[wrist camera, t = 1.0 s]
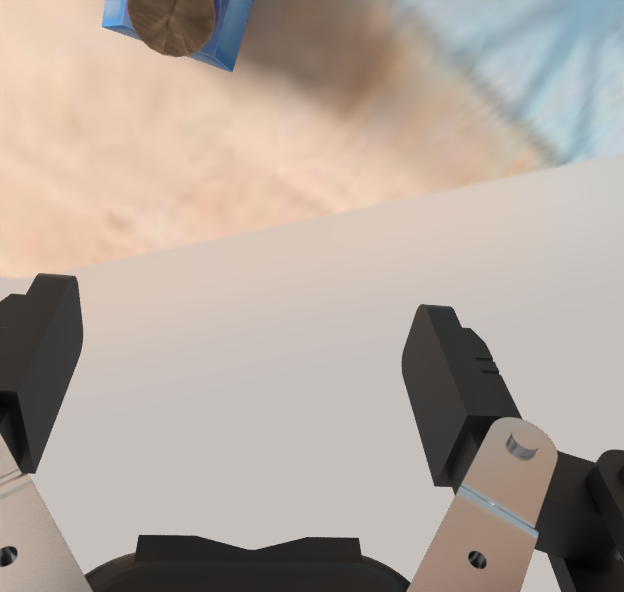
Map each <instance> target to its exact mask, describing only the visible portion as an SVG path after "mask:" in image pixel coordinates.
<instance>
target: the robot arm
mask: <svg viewBox="0 0 624 592" xmlns="http://www.w3.org/2000/svg"><path fill="white" fill-rule="evenodd" d="M82 343H83V324H82V315H81V306H80V297H79V288H78V282H77V278H76V277H75V276H69V275H56V274H44V273H39V274H38V275H37V276H36V278H35V279H34V281H33V283H32V285H31V287H30V288H29V290H28V292H27V293H26V295H22V294H10V295H9V296H8V297H6V298H5V299H3V300H2V301H1V302H0V592H520V590H521V587H522V584H523V581H524V578H525V575H526V572H527V569H528V566H529V563H530V560H531V557H532V554H533V551H534V549H536V550H539V551H542V552H545V553H547V554H548V557H549V560H550V562H551V565H552V568H553V571H554V573H555V576H556V579H557V582H558V584H559V587H560V590H561V592H624V562H623V561H624V451H623V450H609V451H606V452H604V453H603V454H602V455H601V456H600V457H599V459H598V460H597V462H596V463H594V462H591V461H588V460H585V459H581V458H578V457H575V456H572V455H569V454H565V453H562V452H560V451H557V450H556V447H555V445H554V443H553V442H552V440H551V439H550V438H549V437H548V435H547V434H546V433H545V432H544V431H542V430H541V429H540V428H538V427H537V426H535V425H534V424H532V423H530V422H528V421H525V420H523V419H522V417H521V416H520V414H519V411H518V409H517V407H516V405H515V403H514V401H513V399H512V397H511V395H510V393H509V391H508V389H507V387H506V384H505V382H504V380H503V378H502V376H501V375H499V370H498V368H497V366H496V364H495V362H493V358H492V356H491V354H490V352H489V349H488V347H487V345H486V343H485V342H484V341H483V340H482V339H481V338H480V337H479V336H478V335H477V334H476V333H475V332H474V331H473V330H472V329H471V328H462V327H461V324H460V322H459V320H458V318H457V316H456V313H455V311H454V309H453V308H452V307H449V306H437V305H424V304H422V305H420V306H419V307H418V309H417V311H416V314H415V317H414V320H413V323H412V326H411V329H410V332H409V335H408V338H407V341H406V344H405V347H404V351H403V355H402V374H403V378H404V382H405V385H406V389H407V392H408V395H409V399H410V403H411V406H412V410H413V413H414V416H415V420H416V423H417V427H418V430H419V434H420V437H421V441H422V444H423V448H424V451H425V455H426V458H427V462H428V465H429V468H430V472H431V476H432V479H433V482H434V486H439V487H452V488H453V491H454V494H455V497H454V499H453V501H452V503H451V505H450V507H449V509H448V511H447V513H446V515H445V517H444V519H443V521H442V523H441V525H440V527H439V529H438V531H437V533H436V535H435V537H434V539H433V541H432V543H431V544H430V546H429V549H428V550H427V552H426V554H425V556H424V558H423V560H422V562H421V564H420V566H419V568H418V570H417V572H416V574H415V576H414V578H413V580H412V582H411V583H410V582H409V581H408V580H407V579H405V578H404V577H403V576H402V575H400V574H399V573H398V572H396V571H395V570H393V569H392V568H390V567H388V566H387V565H385V564H383V563H381V562H379V561H376V560H374V559H372V558H369V557H366V556H362V555H361V549H360V544H359V538H331V537H329V538H328V537H327V538H326V537H306V538H302V539H298V540H294V541H290V542H286V543H282V544H277V545H274V546H269V547H266V548H261V549H257V550H247V549H243V548H240V547H235V546H232V545H228V544H225V543H221V542H217V541H213V540H210V539H206V538H202V537H198V536H180V535H139V537H138V543H137V548H136V553H132V554H128V555H124V556H122V557H119V558H116V559H113V560H111V561H109V562H107V563H105V564H103V565H101V566H99V567H97V568H95V569H94V570H92V571H90V572H89V573H87V574H85V575H83V573H82V571H81V569H80V567H79V565H78V564H77V562H76V560H75V558H74V556H73V554H72V553H71V551H70V549H69V547H68V545H67V543H66V542H65V540H64V538H63V536H62V534H61V532H60V531H59V529H58V527H57V525H56V523H55V521H54V519H53V518H52V516H51V514H50V512H49V510H48V509H47V507H46V505H45V503H44V501H43V499H42V498H41V496H40V494H39V492H38V490H37V488H36V486H35V485H34V483H33V481H32V479H31V478H30V476H29V475H28V474H27V473H33V474H35V473H36V470H37V468H38V465H39V462H40V460H41V457H42V454H43V452H44V449H45V446H46V444H47V441H48V438H49V436H50V433H51V430H52V428H53V425H54V422H55V420H56V417H57V415H58V412H59V409H60V407H61V404H62V401H63V399H64V396H65V393H66V391H67V388H68V386H69V383H70V380H71V378H72V375H73V372H74V370H75V367H76V364H77V362H78V359H79V356H80V353H81V349H82ZM621 557H622V558H621ZM622 559H623V560H622Z"/></svg>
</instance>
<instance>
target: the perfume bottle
mask: <svg viewBox="0 0 624 592" xmlns="http://www.w3.org/2000/svg"><path fill="white" fill-rule="evenodd" d="M252 2H253V0H106V2H105V9H104V16H103V23H102V27H104V28H107V29H110V30H113V31H115V32H118V33H121V34H124V35H127V36H130V37H133V38H135V39H138V40H141V41H143V42H144V43H145V44H146V45H147V46H148V47H149V48H151V49H153V50H155V51H157V52H158V53H160V54H162V55H167V56H172V57H181V56H187V57H190V58H193V59H196V60H198V61H201V62H204V63H207V64H210V65H213V66H216V67H218V68H221V69H224V70H227V71H230V72H233V69H234V65H235V62H236V58H237V55H238V51H239V47H240V44H241V40H242V37H243V33H244V30H245V26H246V23H247V19H248V16H249V12H250V9H251V5H252Z"/></svg>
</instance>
